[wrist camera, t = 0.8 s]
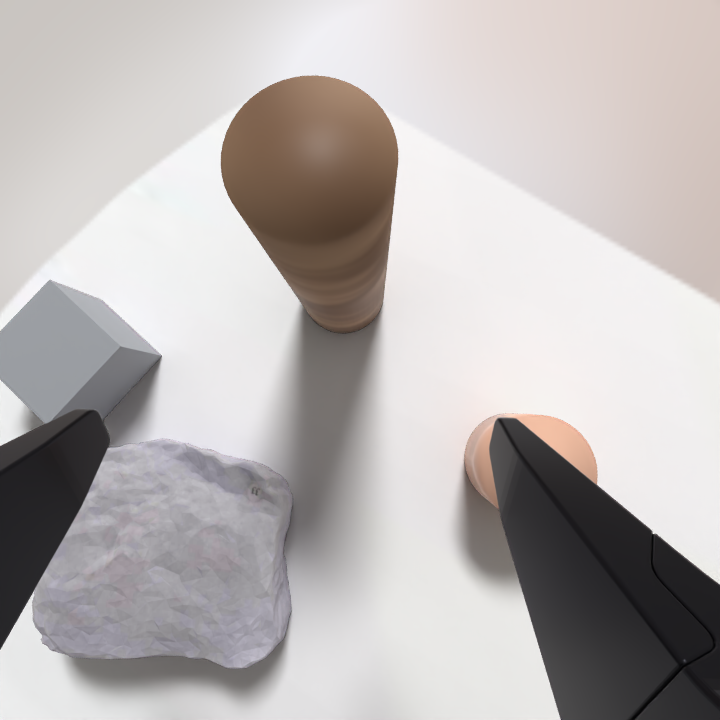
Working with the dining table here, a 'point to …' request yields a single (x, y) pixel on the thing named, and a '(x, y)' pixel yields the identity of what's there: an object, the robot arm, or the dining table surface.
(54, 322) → the grey faceted polyhedron
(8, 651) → the dining table surface
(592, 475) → the peach rounded knob part
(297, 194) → the walnut post
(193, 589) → the stone block
